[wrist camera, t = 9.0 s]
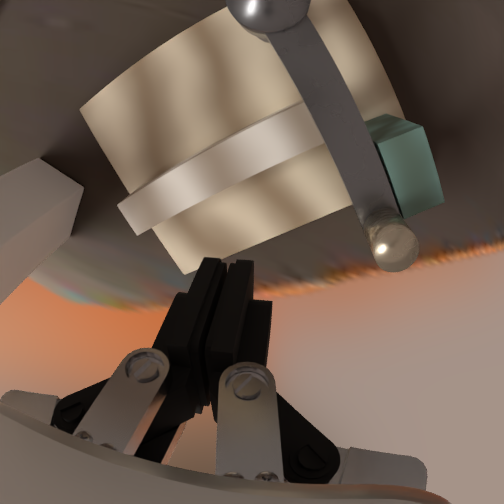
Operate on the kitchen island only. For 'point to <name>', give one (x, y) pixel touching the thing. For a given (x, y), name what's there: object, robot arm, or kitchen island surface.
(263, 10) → the swing bar
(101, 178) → the kitchen island surface
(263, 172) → the base
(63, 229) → the milk carton
